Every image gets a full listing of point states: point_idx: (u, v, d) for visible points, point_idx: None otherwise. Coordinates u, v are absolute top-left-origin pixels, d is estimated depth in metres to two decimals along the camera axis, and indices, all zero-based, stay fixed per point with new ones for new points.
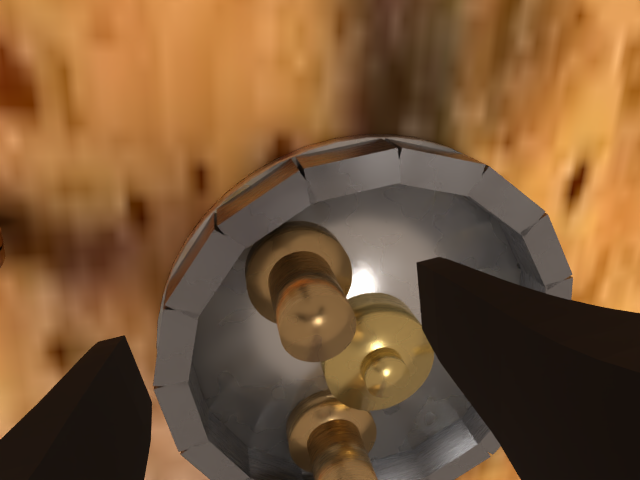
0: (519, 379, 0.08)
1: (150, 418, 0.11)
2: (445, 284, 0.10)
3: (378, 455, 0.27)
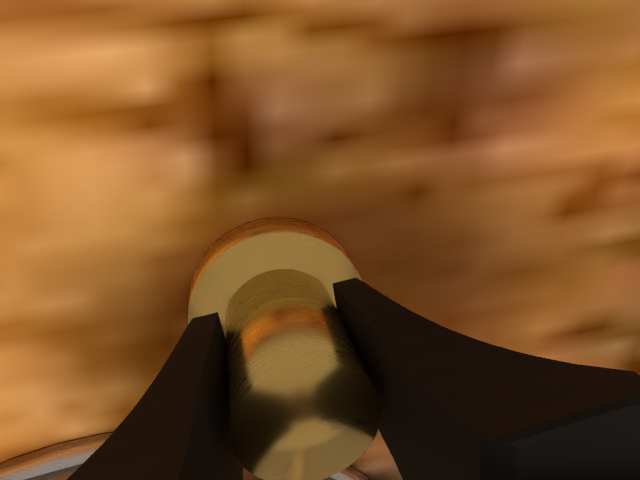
0: (402, 413, 0.08)
1: None
2: (349, 308, 0.10)
3: None
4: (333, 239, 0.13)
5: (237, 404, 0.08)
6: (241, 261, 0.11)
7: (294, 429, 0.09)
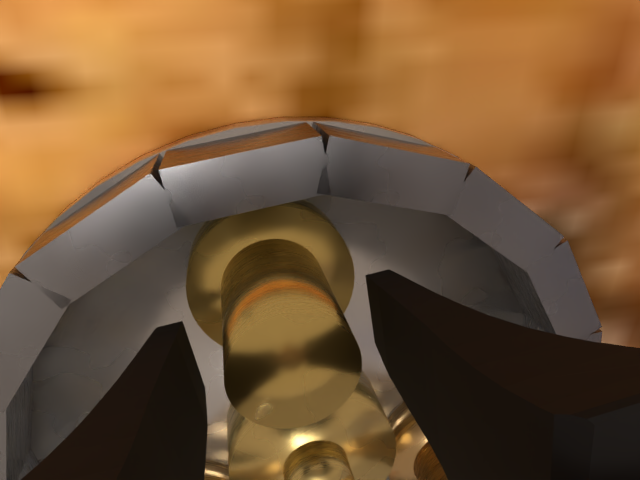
0: (448, 400, 0.08)
1: (205, 403, 0.11)
2: (387, 299, 0.10)
3: None
4: None
5: (235, 342, 0.09)
6: (244, 227, 0.12)
7: (282, 374, 0.09)
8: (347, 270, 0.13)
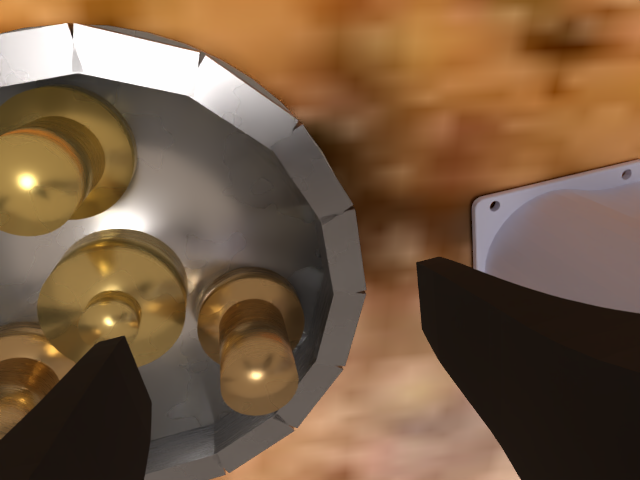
0: (519, 379, 0.08)
1: (150, 418, 0.11)
2: (445, 284, 0.10)
3: (313, 248, 0.21)
4: (115, 109, 0.17)
5: None
6: (28, 104, 0.16)
7: (11, 188, 0.13)
8: (124, 146, 0.17)
